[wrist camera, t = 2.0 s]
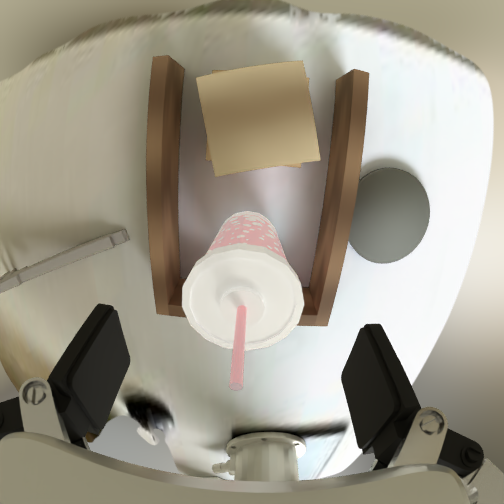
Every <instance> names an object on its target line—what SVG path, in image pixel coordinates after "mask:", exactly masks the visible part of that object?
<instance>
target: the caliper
mask: <svg viewBox="0 0 504 504" xmlns="http://www.w3.org/2000/svg"><path fill="white" fill-rule="evenodd" d="M128 240H130V239H129V237H128V234H127V232H126V229H123V230H120V231H118V232H115V233H111V234H108V235H105V236H102V237H99V238H96V239H94V240H91V241H89V242H86V243H84V244H81V245H79V246H76V247H74V248H71V249H69V250H66V251H64V252H62V253H59V254H57V255H55V256H52V257H50V258H48V259H45V260H43V261H41V262H38V263H36V264H34V265H32V266H29V267H27V266H26V267H24V268H22V269H20V270H18V271H17V270H16V268H15V269H13V270H12V271H11V272H10V271H8V272H7V273H5V274H4V275H3V276H2V277H0V293H2V292H5V291H7V290H9V289H11V288H14V287H16V286H18V285H20V284H22V283H23V282H25V281H28V280H30V279H33V278H35V277H37V276H40V275H42V274H45V273H47V272H50V271H52V270H55V269H57V268H60V267H62V266H65V265H68V264H70V263H73V262H75V261H78V260H81V259H83V258H86V257H89V256H91V255H94V254H97V253H99V252H102V251H105V250H108V249H110V248H113V247H114V246H115V245H118V244H121V243H123V242H126V241H128Z"/></svg>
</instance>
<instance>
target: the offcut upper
mask: <svg viewBox="0 0 504 504" xmlns="http://www.w3.org/2000/svg"><path fill="white" fill-rule="evenodd" d="M196 81H197V87H198V92H199V98H200V103H201V108H202V113H203V118H204V124H205V129H206V134H207V139H208V144H209V149H210V154H211V159H212V164H213V168H214V173H215V177H218V176H223V175H228V174H234V173H239V172H245V171H251V170H257V169H263V168H269V167H276V166H282V165H289V164H297V163H304V162H312V161H321V160H320V153H319V146H318V139H317V133H316V127H315V121H314V115H313V109H312V104H311V98H310V93H309V88H308V83H307V78H306V73H305V68H304V64H303V61H290V62H280V63H272V64H264V65H257V66H250V67H244V68H238V69H233V70H228V71H223V72H218V73H214V74H209V75H205V76H201V77H197V78H196Z"/></svg>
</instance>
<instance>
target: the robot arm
mask: <svg viewBox="0 0 504 504" xmlns="http://www.w3.org/2000/svg"><path fill="white" fill-rule="evenodd" d="M129 365H130V355H129V352H128V349H127V345H126V342H125V339H124V335H123V331H122V328H121V324H120V320H119V316H118V313H117V311H116V310H114V308H113V306H111V305H105V304H98V305H97V306H96V307H95V308H94V310H93V311H92V312H91V314H90V315H89V317H88V318H87V319H86V321H85V322H84V324H83V325H82V327H81V328H80V329H79V331H78V332H77V334H76V335H75V337H74V338H73V340H72V341H71V343H70V344H69V346H68V347H67V349H66V350H65V352H64V353H63V355H62V356H61V358H60V360H59V361H58V363H57V364H56V366H55V367H54V369H53V371H52V372H51V374H50V376H49V378H48V380H47V381H46V380H44V379H43V378H38V377H36V378H31V379H29V380H27V381H26V382H25V383H23V385H22V386H21V388H20V391H19V397H16V398H13V399H10V400H7V401H4V402H1V403H0V504H504V474H503V473H502V472H501V471H500V470H499V469H498V468H497V467H496V466H495V465H494V464H492V463H491V462H490V461H489V460H488V459H486V460H484V459H483V458H484V454H483V450H482V448H481V446H480V445H479V444H478V443H477V442H475V441H473V440H471V439H469V438H467V437H465V436H462V435H460V434H458V433H456V432H454V431H452V430H450V429H448V428H447V427H448V422H447V418H446V416H445V415H444V414H443V412H442V411H440V410H439V409H437V408H434V407H425V408H422V409H421V407H420V404H419V402H418V400H417V397H416V395H415V393H414V390H413V388H412V386H411V384H410V382H409V379H408V377H407V375H406V373H405V371H404V369H403V367H402V365H401V362H400V360H399V359H398V357H397V355H396V353H395V351H394V349H393V347H392V345H391V343H390V341H389V339H388V337H387V335H386V333H385V331H384V329H383V327H382V326H381V324H366V325H365V326H364V328H361V329H360V331H359V333H358V336H357V338H356V341H355V343H354V346H353V348H352V351H351V353H350V355H349V358H348V360H347V362H346V365H345V367H344V369H343V372H342V375H341V380H342V384H343V388H344V392H345V396H346V399H347V403H348V407H349V411H350V415H351V419H352V423H353V428H354V432H355V436H356V440H357V445H358V447H359V448H360V449H362V451H363V454H370V453H374V454H375V458H376V460H375V461H374V463H373V465H372V466H371V468H370V470H369V471H368V472H365V473H359V474H353V475H346V476H339V477H332V478H323V479H313V480H300V481H299V474H298V462H297V459H298V458H299V457H301V456H302V455H303V454H304V453H305V451H306V443H305V441H304V440H303V439H301V438H300V437H298V436H295V435H292V434H288V433H282V432H257V433H250V434H245V435H241V436H238V437H236V438H234V439H232V440H231V441H229V442H228V444H227V448H226V452H227V454H228V456H229V457H230V460H228V461H227V462H226V463H218V464H214V465H213V466H212V469H213V471H214V473H216V474H218V473H225V472H229V474H230V475H235V478H234V480H221V479H211V478H202V477H195V476H188V475H182V474H176V473H170V472H165V471H160V470H155V469H151V468H147V467H143V466H139V465H135V464H131V463H128V462H124V461H120V460H117V459H114V458H111V457H108V456H105V455H102V454H98V453H96V452H93V451H91V450H90V448H89V446H88V443H87V441H86V438H85V435H86V433H87V431H89V432H91V433H94V434H97V435H98V433H99V430H100V429H103V428H104V426H105V424H106V421H107V419H108V416H109V414H110V411H111V408H112V406H113V403H114V401H115V398H116V396H117V394H118V391H119V389H120V386H121V384H122V381H123V379H124V377H125V374H126V372H127V370H128V367H129Z"/></svg>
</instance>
